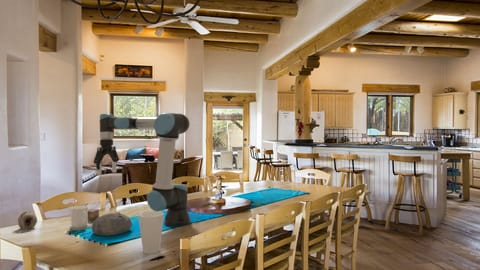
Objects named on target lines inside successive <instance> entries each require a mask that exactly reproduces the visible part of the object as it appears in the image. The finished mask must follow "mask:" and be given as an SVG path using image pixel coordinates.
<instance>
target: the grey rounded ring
mask: <svg viewBox="0 0 480 270" xmlns="http://www.w3.org/2000/svg"><path fill="white" fill-rule="evenodd" d="M37 218H38V217H37V216H36V214H35V213H34V212H33V213H32V211H24V212H22V213H21V214H20V215H19V216H18V218H17V222H18V227H19V229H21V230H26V229H27V230H31V229H33V228H35V227H36V225H37V223H38V219H37Z"/></svg>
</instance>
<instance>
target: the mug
mask: <svg viewBox="0 0 480 270" xmlns="http://www.w3.org/2000/svg"><path fill="white" fill-rule="evenodd" d="M88 208H89V207H88V206H87V205H74V206H72V207H71V208H70V225H71V226H72V227H73V228H81V227H85V226H87V225H88V224H89V223H88ZM71 226H70V227H71Z"/></svg>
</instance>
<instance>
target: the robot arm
mask: <svg viewBox="0 0 480 270" xmlns="http://www.w3.org/2000/svg"><path fill="white" fill-rule="evenodd" d="M189 128H190V120H189V118H188V117H187V116H186V115H185V114H183V113H174V112H173V113H171V112H163V113H160V114H158V115H157V116H156V117H145V116H144V117H143V116H142V117H141V116H139V117H137V116H133V117H131V116H114V115H113V114H112V113H101V114H99V138H100V140H99V145H100V146H98V147H97V148H96V153H95V155H94V159H93V161H92V162H93V163H94V165H96V175H97V176H101V175H102V161H103V159H104V157H105V156H106V155H108V156H109V157H110V159H111V160H112V162H111V172H112V173H117V163H118V162H119V161H120V158H119V156H118V152H117V149H116V146H113V145H114V130H154V131H155V133H156V134H157V136H156V137H157V138H158V139H159V144H158V155H157V167H156V175H155V183H153V184H152V189H151V191H150V192H149V193H148V194H147V196H146V202H147V205H148V206H149V208H150V209H151V210H152V211H159V212H161V211H162V212H163V211H165V210H167V211H166V212H165V213H166V214H165V216H164V219H163V224H164V225H165V226H168V227H183V226H187V225H189V224H191V217H190V214H189V211H188V186H187V185H186V184H181V183H172V182H173V171H174V170H173V169H174V160H175V150H176V142H177V141H178V140H179V138H180V137H179V136H180V135H182V134H185V133H186V132H187V131H188V130H189Z"/></svg>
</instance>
